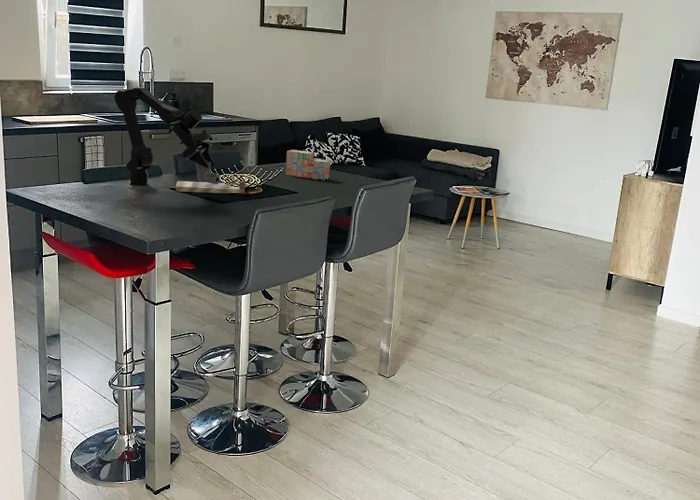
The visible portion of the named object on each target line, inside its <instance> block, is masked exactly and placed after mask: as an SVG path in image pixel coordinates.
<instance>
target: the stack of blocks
mask: <svg viewBox="0 0 700 500" xmlns="http://www.w3.org/2000/svg"><path fill="white" fill-rule="evenodd" d="M285 159H286V162H285V163H286V164H285V165H286V169H285V175H286V176H290V177H291V176H292V177H298V178H299V177H300V178H303V179H304V178H305V179H311V178H312V179H313V180H318V179H321V180H320V181H326V180H325V179H327V180H329V179H330V169H331V160H327V159H326V160H325V159H319V158H315V152H311V151H305V150H299V149H298V150H297V149H290V150H287V151H286V158H285ZM328 178H329V179H328ZM312 179H311V180H312Z"/></svg>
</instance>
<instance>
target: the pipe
mask: <svg viewBox="0 0 700 500" xmlns="http://www.w3.org/2000/svg"><path fill="white" fill-rule="evenodd" d="M206 162H207V164H208V166H209V167H208V168H206V167H204V166H202V165H200V164H198V163H196V162H194V163H195V164H194V165H195V169H196V179H197V182H208V183H213V184H219V183H221V178H220V176H219V175H218V174H215V173H214V174H213V173H211V166H212V165H211V162H209V161H206Z"/></svg>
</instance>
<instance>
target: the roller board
mask: <svg viewBox="0 0 700 500" xmlns="http://www.w3.org/2000/svg"><path fill="white" fill-rule="evenodd" d="M245 183H246V181H245V180H244V181H240V187H234V186H230V185H227V184H225V182H219V184H213V183H209V182H201V181H186V180H185V181H184V180H183V181H182V180H177V181H176V185H175V192H187V193H188V192H189V193H210V194H229V193H244V194H245V189H246V188H245V185H246V184H245Z"/></svg>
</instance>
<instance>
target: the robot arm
mask: <svg viewBox="0 0 700 500" xmlns="http://www.w3.org/2000/svg"><path fill="white" fill-rule="evenodd" d="M113 97H114V102H115V105H116V106H117V109H119V111H120V112H122V115H123V117H124V122H125V125H126V129H127V133H128V136H129V140H130V145H131V147H132V148H131V150H130V160H129V161H127V163H126V164H125V167H126V170H128V171H130V172H129V173H130V177H129V178H130V183H129V185H131V186H132V185H133V186H146V185H147V184H148V182H149V173H148V172H147V170H150V169H151V166H152V163H153V159H154V158H153V157H154V154H153V152H152V148H151V147H149V146H148V147H147V146H146V145H145V142H144V139H143V138H144V137H143V135H142V131H141V127H140V124H139V119H138V116H137V113H136V109H137V105H138V102H137V101H139V100H140V101H141V102H142V103H144V104H145V105H146V106H148V107H149V108H151V109H152V110H153V111H155V112H156V113H157V114H158V115H157V116H158V117H159V118H160V120H161V121H162V122H163V123H164V124H166V125H171V124H174V125H173V126H172V125H171V126H169V127H168V135H171V134H174V135H175V136H176V137H177V139H178V140H180V142H179V144H181V145H183V146H184V147H185V150H183V151H182V152H181V157H182V158H183V159H184V160H189V161H192V162H194V163H195V162H196V163H198V164H200V165H202V166H204V167H206V168H208V167H209V166H208V164H207V162H206V161H209V162H211V166H212V167H213V166H215V162H214V160H213V158H212V156H211V152H210V151H211V147H212V146H213V144H212V143H211V142H210V141H209V140H210V139H212V138H213V137H212V132H211V131H210V130H209V129H204V130H202V131H201V132H200V133H198V134H197V133H196V132H193V131H192V130H193V129H195V127H196V126H197V125H198V124H199V123H200V122H201V121H202V120H203V116H202V114H201V113H199V111H197V110H196V109H194V107H192V106H190V107H187V108H186V110H185V112H183V113H182V111H181V110H180V109H179V108H176V107H174V106H171V105H168V104H166V103H164V102H163V101H162V100H160V99H159V98H157V96H155V95H153V94H152V93H151V92H150V91H148V90H147V89H146V87H143V86H142V87H138V86H137V87H134V88H131V89H127V90H117V91H116V92H115V94H114V96H113ZM189 156H190V157H189Z"/></svg>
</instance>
